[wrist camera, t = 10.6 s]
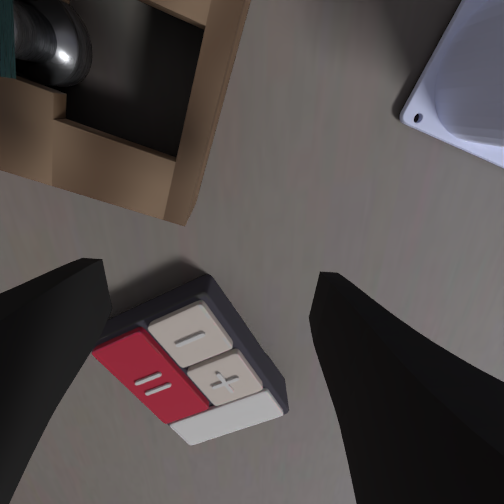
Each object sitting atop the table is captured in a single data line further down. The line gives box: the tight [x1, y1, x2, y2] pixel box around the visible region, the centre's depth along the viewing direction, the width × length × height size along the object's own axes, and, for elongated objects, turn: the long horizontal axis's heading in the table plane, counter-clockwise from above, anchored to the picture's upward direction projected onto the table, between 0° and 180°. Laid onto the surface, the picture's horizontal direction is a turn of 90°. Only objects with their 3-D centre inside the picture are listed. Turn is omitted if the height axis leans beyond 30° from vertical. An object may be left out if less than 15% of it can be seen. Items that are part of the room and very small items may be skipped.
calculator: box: [92, 275, 289, 445], centre depth 24 cm, size 11×4×15 cm
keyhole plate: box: [0, 0, 251, 226], centre depth 13 cm, size 14×12×4 cm
